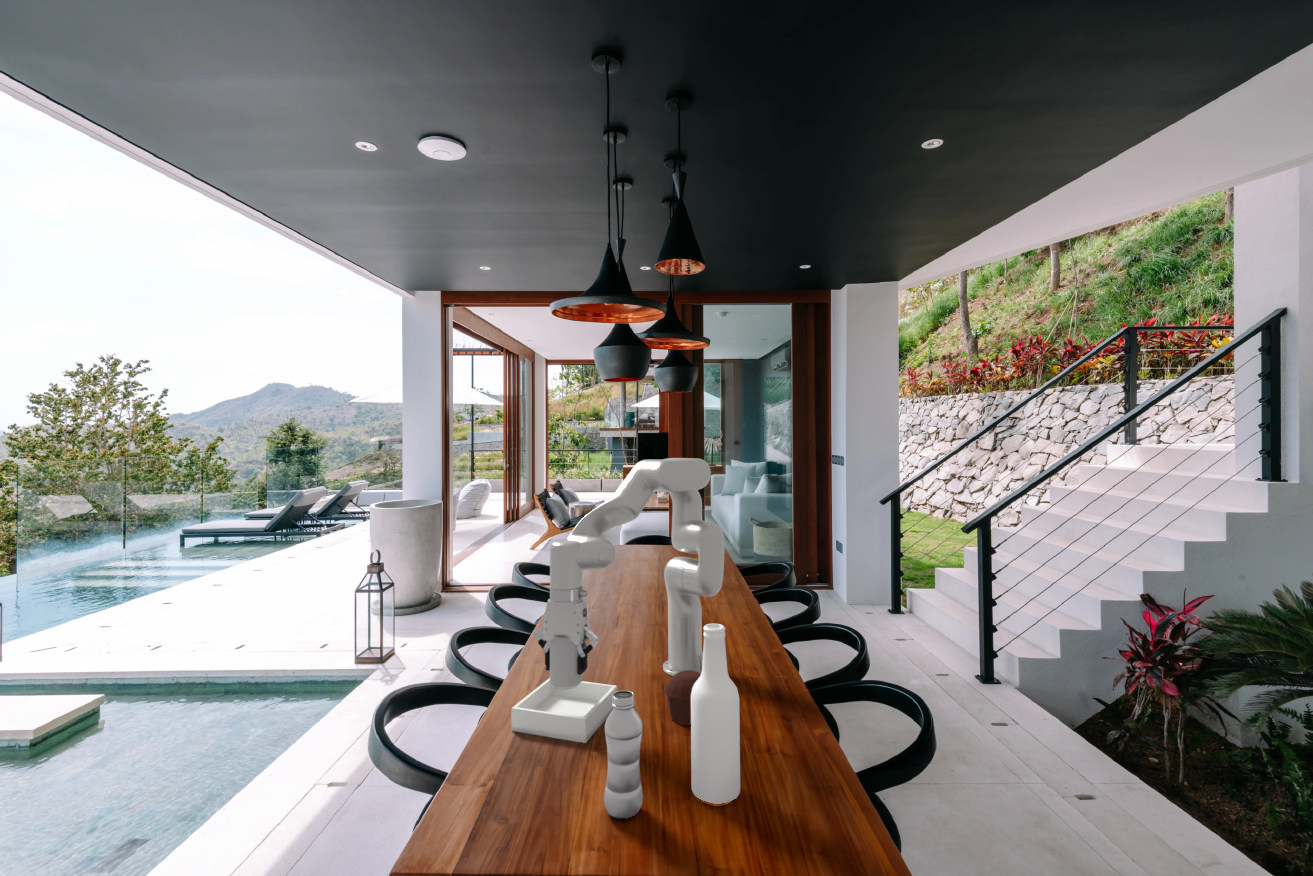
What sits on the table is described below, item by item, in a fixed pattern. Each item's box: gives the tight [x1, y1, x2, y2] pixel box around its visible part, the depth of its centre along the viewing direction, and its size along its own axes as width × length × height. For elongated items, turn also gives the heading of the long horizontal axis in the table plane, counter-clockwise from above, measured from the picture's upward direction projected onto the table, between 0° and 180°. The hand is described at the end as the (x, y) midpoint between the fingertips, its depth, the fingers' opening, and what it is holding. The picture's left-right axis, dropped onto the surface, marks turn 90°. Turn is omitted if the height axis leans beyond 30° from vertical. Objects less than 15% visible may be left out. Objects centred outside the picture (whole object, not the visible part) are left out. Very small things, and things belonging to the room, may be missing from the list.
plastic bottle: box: [603, 690, 644, 820], centre depth 97 cm, size 6×7×20 cm
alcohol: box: [690, 623, 741, 804], centre depth 102 cm, size 9×9×30 cm
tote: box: [510, 677, 618, 744], centre depth 131 cm, size 18×18×5 cm
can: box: [549, 636, 583, 690], centre depth 131 cm, size 8×8×12 cm
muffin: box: [663, 670, 701, 726], centre depth 132 cm, size 12×11×10 cm
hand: (566, 670), depth 131 cm, fingers closed on can, 7 cm apart
